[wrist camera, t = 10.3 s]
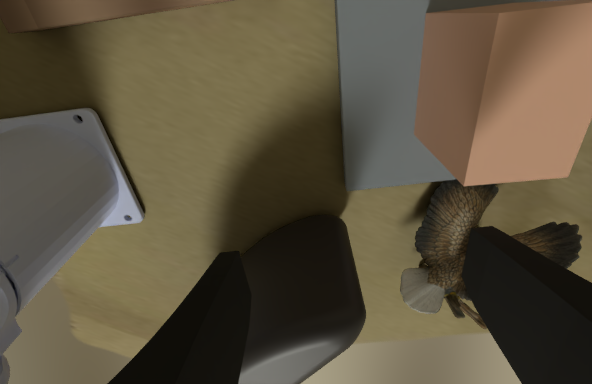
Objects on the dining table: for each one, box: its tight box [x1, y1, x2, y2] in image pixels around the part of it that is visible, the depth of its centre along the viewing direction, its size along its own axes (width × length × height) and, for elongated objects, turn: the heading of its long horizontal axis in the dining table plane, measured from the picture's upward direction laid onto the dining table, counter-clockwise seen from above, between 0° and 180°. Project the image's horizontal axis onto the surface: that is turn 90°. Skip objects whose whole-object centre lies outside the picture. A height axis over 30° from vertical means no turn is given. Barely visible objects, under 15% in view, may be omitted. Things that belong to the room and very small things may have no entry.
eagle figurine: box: [400, 179, 582, 329], centre depth 19 cm, size 8×7×9 cm
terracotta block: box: [414, 0, 592, 186], centre depth 13 cm, size 4×6×6 cm, turn 6°
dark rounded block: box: [238, 215, 366, 384], centre depth 20 cm, size 16×5×9 cm, turn 144°
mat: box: [335, 0, 561, 191], centre depth 16 cm, size 12×12×1 cm
